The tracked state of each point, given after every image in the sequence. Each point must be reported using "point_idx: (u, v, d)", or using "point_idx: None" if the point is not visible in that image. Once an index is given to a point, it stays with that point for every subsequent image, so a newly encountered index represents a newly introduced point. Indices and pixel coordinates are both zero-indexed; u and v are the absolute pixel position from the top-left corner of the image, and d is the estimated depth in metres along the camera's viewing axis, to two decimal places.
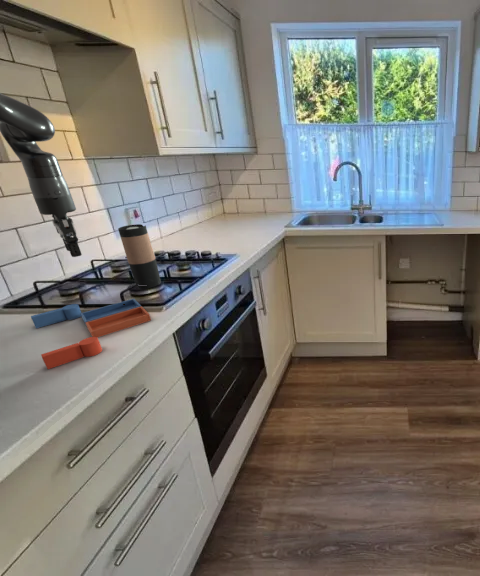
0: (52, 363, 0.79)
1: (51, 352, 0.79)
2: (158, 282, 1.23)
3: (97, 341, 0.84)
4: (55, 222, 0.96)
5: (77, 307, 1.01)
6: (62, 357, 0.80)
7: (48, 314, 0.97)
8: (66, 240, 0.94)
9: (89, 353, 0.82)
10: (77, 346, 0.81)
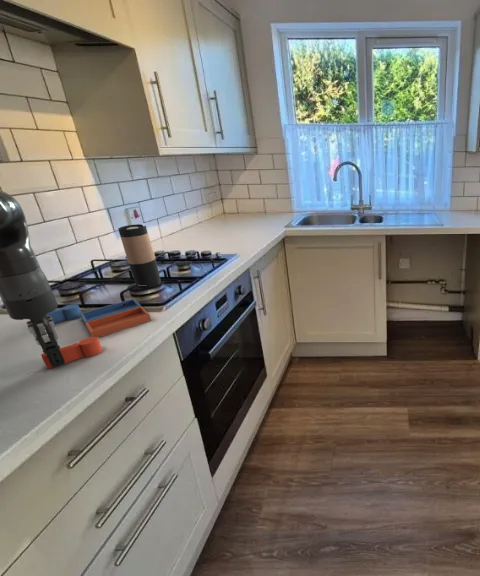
0: None
1: None
2: (158, 282, 1.23)
3: (97, 341, 0.84)
4: (31, 329, 0.74)
5: (77, 307, 1.01)
6: None
7: (48, 314, 0.97)
8: (45, 352, 0.75)
9: (89, 353, 0.83)
10: (77, 346, 0.81)
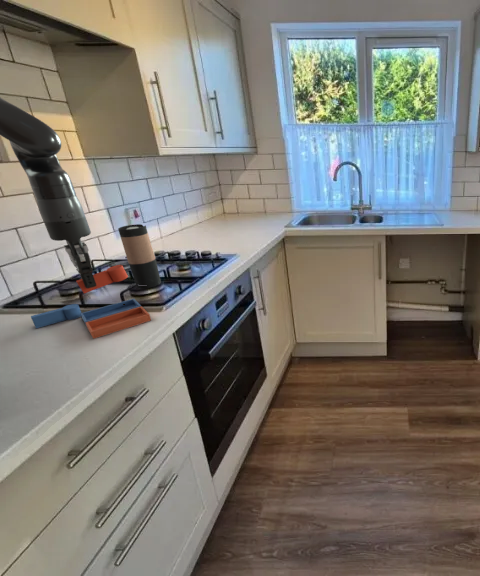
0: (87, 288, 0.89)
1: None
2: (158, 282, 1.23)
3: (122, 268, 0.93)
4: (68, 250, 0.84)
5: (77, 307, 1.01)
6: None
7: (48, 314, 0.97)
8: (80, 272, 0.85)
9: (117, 278, 0.92)
10: (105, 272, 0.91)
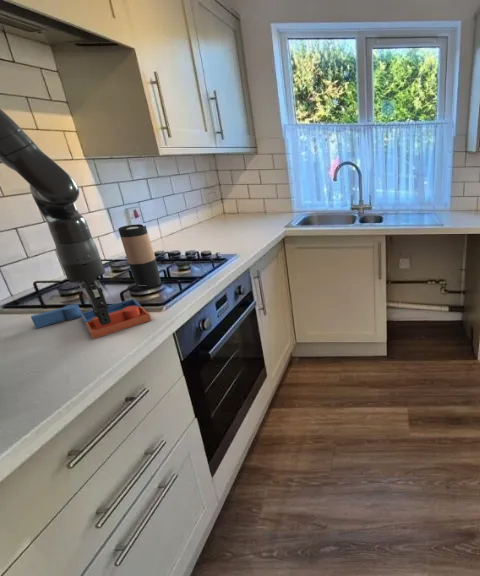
0: (101, 326, 0.93)
1: None
2: (158, 282, 1.23)
3: (137, 309, 0.98)
4: (84, 288, 0.88)
5: (77, 307, 1.01)
6: None
7: (48, 314, 0.97)
8: (96, 310, 0.87)
9: None
10: (121, 312, 0.96)
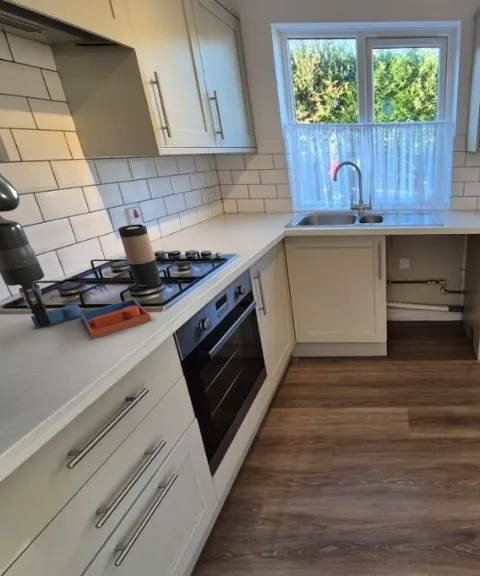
0: (101, 326, 0.93)
1: (100, 316, 0.93)
2: (158, 282, 1.23)
3: (137, 309, 0.98)
4: (22, 293, 0.91)
5: (77, 307, 1.01)
6: (109, 321, 0.94)
7: (48, 314, 0.97)
8: (33, 313, 0.93)
9: None
10: (121, 312, 0.96)
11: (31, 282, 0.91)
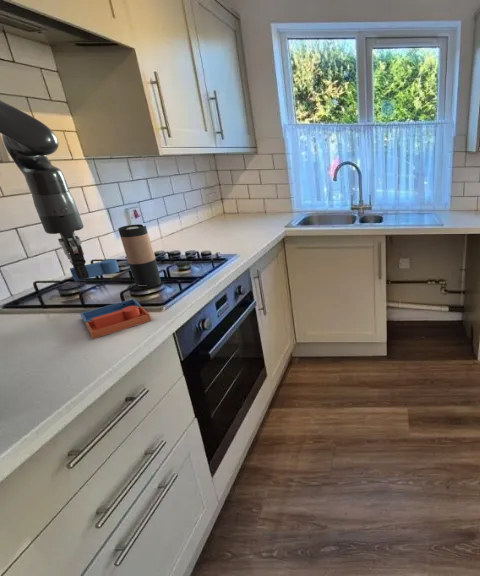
0: (101, 326, 0.93)
1: (100, 316, 0.93)
2: (158, 282, 1.23)
3: (137, 309, 0.98)
4: (62, 243, 0.89)
5: (115, 261, 0.98)
6: (109, 321, 0.94)
7: (87, 267, 0.95)
8: (74, 264, 0.90)
9: None
10: (121, 312, 0.96)
11: (72, 231, 0.88)
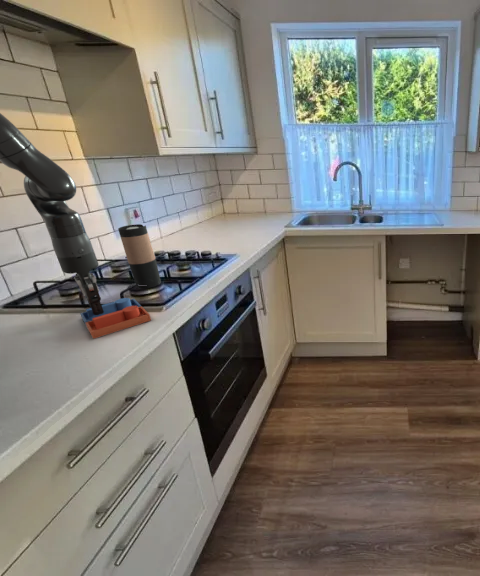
0: (101, 326, 0.93)
1: (100, 316, 0.93)
2: (158, 282, 1.23)
3: (137, 309, 0.98)
4: (78, 281, 0.93)
5: (128, 301, 1.03)
6: (109, 321, 0.94)
7: (102, 307, 0.99)
8: (90, 301, 0.94)
9: None
10: (121, 312, 0.96)
11: (88, 270, 0.92)
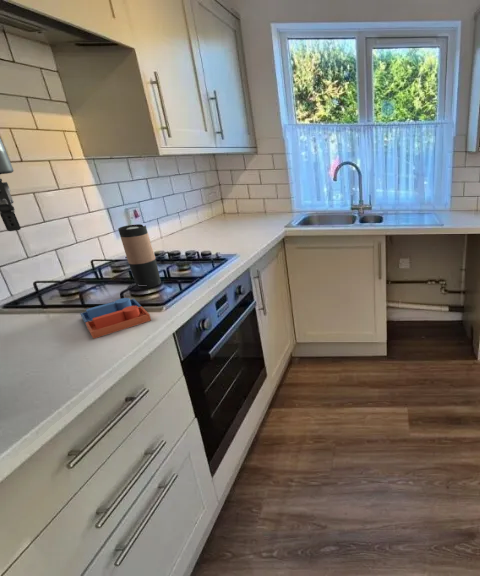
0: (101, 326, 0.93)
1: (100, 316, 0.93)
2: (158, 282, 1.23)
3: (137, 309, 0.98)
4: None
5: (128, 301, 1.03)
6: (109, 321, 0.94)
7: (102, 307, 0.99)
8: None
9: None
10: (121, 312, 0.96)
11: None
